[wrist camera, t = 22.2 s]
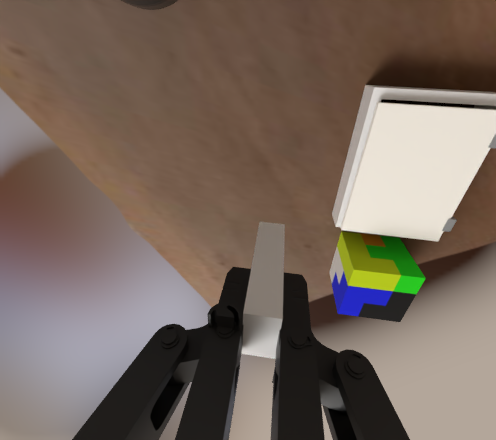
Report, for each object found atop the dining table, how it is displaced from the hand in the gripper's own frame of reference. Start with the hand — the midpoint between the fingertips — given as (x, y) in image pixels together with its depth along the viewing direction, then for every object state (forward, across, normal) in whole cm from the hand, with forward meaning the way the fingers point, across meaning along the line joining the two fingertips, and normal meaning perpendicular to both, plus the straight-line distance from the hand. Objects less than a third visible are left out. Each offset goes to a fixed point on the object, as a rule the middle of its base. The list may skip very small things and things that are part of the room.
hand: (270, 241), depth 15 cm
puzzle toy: (+27, +18, -21) cm, 38 cm away
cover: (+22, +18, -3) cm, 29 cm away
